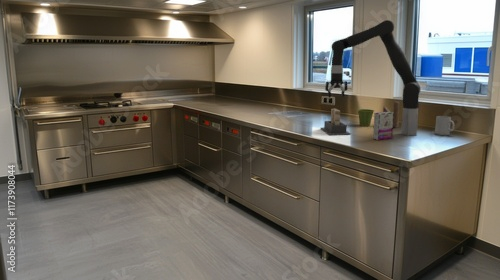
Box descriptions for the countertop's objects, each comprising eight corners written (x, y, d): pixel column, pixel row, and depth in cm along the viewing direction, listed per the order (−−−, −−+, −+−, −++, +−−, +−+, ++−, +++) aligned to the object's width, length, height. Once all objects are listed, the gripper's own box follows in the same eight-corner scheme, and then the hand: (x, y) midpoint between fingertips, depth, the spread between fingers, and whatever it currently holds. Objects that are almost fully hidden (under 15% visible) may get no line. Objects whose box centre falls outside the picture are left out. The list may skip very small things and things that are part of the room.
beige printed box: (339, 131, 261) (340, 110, 258) (335, 131, 261) (335, 110, 258) (335, 128, 271) (335, 108, 268) (330, 129, 271) (331, 108, 268)
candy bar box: (386, 137, 248) (388, 111, 245) (392, 138, 244) (394, 112, 240) (372, 138, 244) (374, 112, 240) (378, 140, 240) (379, 113, 236)
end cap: (350, 134, 256) (350, 125, 255) (329, 135, 255) (329, 126, 254) (340, 128, 278) (340, 119, 277) (320, 128, 277) (320, 120, 275)
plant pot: (373, 127, 280) (374, 111, 278) (356, 126, 284) (356, 111, 281) (373, 124, 291) (374, 109, 289) (356, 123, 295) (357, 108, 292)
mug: (431, 133, 258) (433, 116, 255) (440, 131, 262) (441, 115, 260) (449, 136, 248) (450, 119, 245) (457, 135, 252) (459, 118, 249)
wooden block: (384, 125, 287) (386, 100, 283) (398, 127, 279) (400, 101, 275) (382, 126, 284) (383, 101, 280) (396, 128, 277) (398, 102, 273)
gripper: (327, 72, 254) (327, 98, 257) (349, 72, 255) (348, 97, 258) (324, 72, 261) (324, 96, 264) (345, 71, 262) (344, 96, 266)
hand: (336, 97), depth 261 cm, fingers open, 8 cm apart
